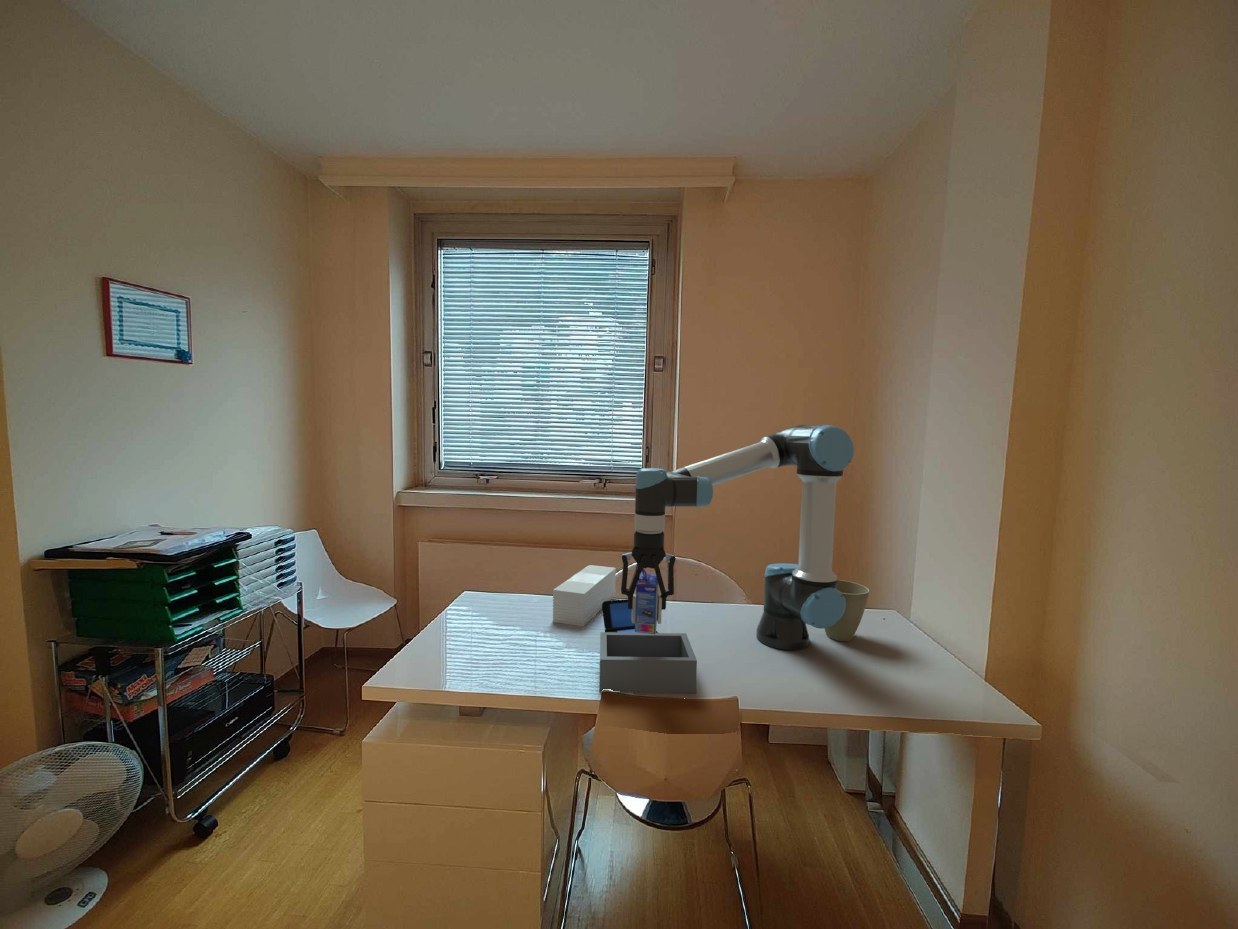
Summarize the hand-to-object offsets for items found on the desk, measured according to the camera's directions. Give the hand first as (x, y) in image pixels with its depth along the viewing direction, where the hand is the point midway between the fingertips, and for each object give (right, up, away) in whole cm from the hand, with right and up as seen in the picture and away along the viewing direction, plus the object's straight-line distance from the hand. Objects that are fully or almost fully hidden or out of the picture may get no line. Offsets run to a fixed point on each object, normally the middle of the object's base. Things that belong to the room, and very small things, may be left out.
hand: (646, 621), depth 128 cm
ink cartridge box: (0, -1, 0) cm, 1 cm away
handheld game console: (-3, -13, +27) cm, 30 cm away
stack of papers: (-18, -11, +49) cm, 54 cm away
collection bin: (0, -14, +1) cm, 14 cm away
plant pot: (+61, -14, +29) cm, 70 cm away
